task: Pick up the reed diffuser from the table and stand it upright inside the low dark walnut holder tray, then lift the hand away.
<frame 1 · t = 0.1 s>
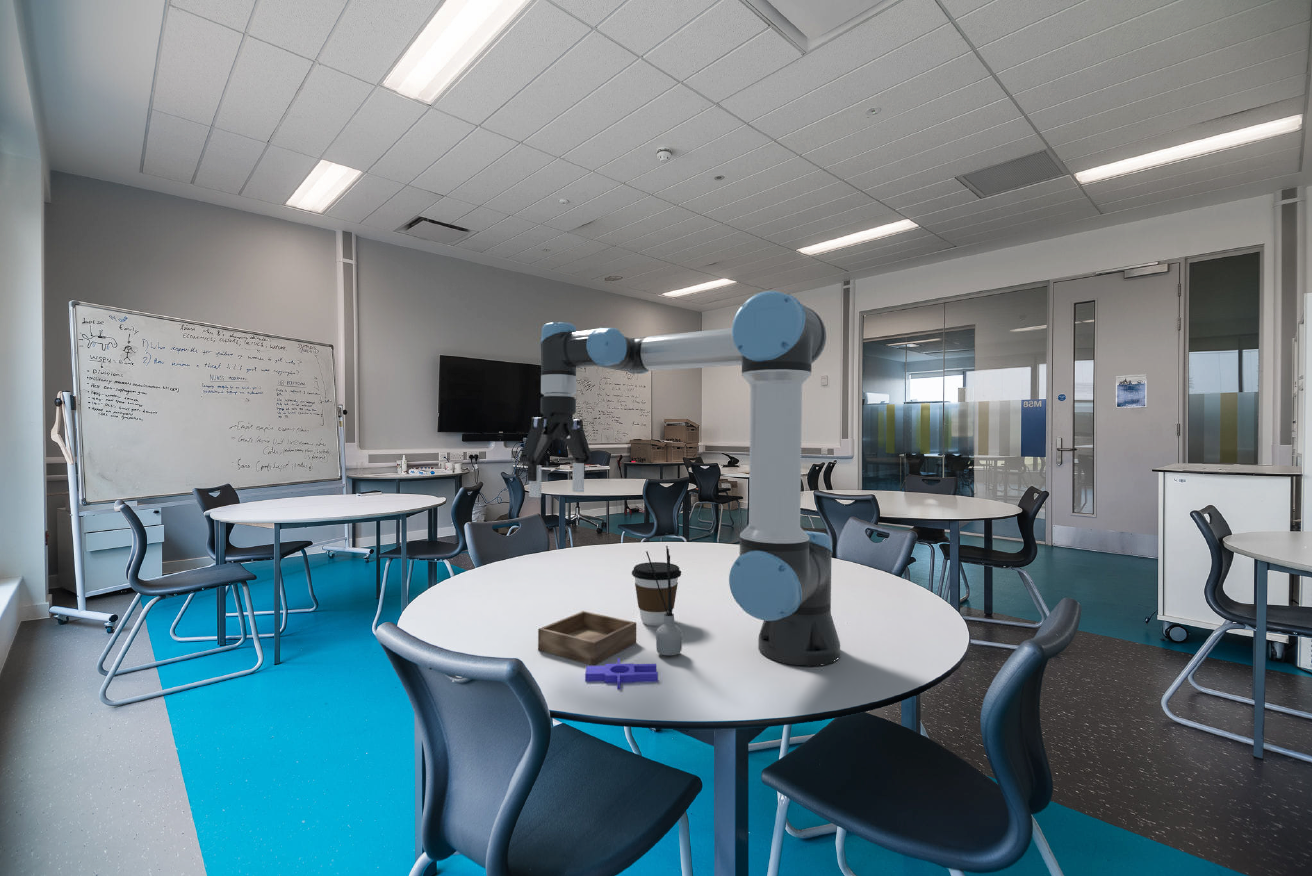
hand: (557, 494, 124), 28 cm above the table, tool pointing down, fingers open, 13 cm apart
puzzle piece: (621, 680, 97), on the table
reed diffuser: (663, 654, 108), on the table
walnut holder: (588, 646, 111), on the table
coffee cup: (656, 622, 126), on the table
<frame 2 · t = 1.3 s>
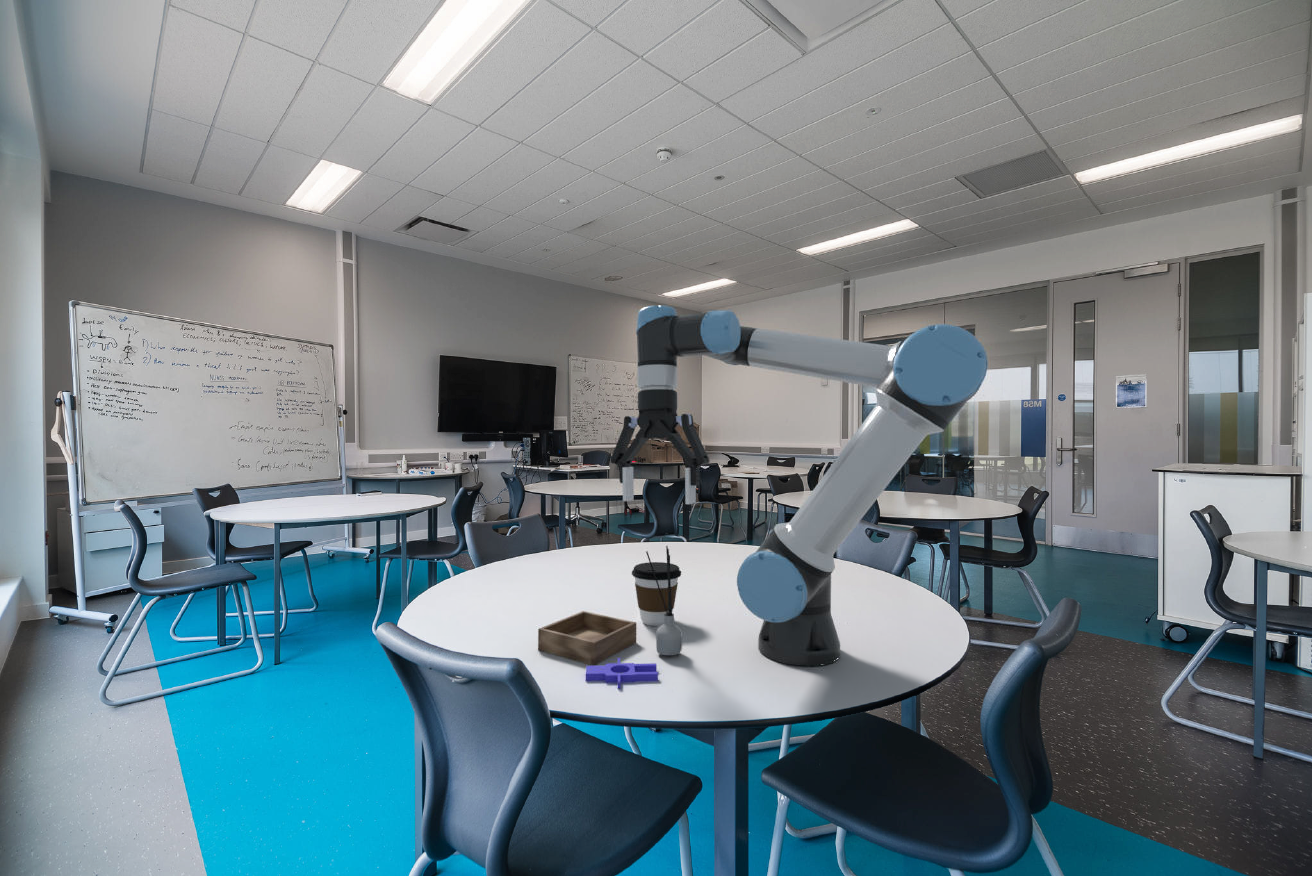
hand: (658, 502, 108), 28 cm above the table, tool pointing down, fingers open, 13 cm apart
nothing on the table moved.
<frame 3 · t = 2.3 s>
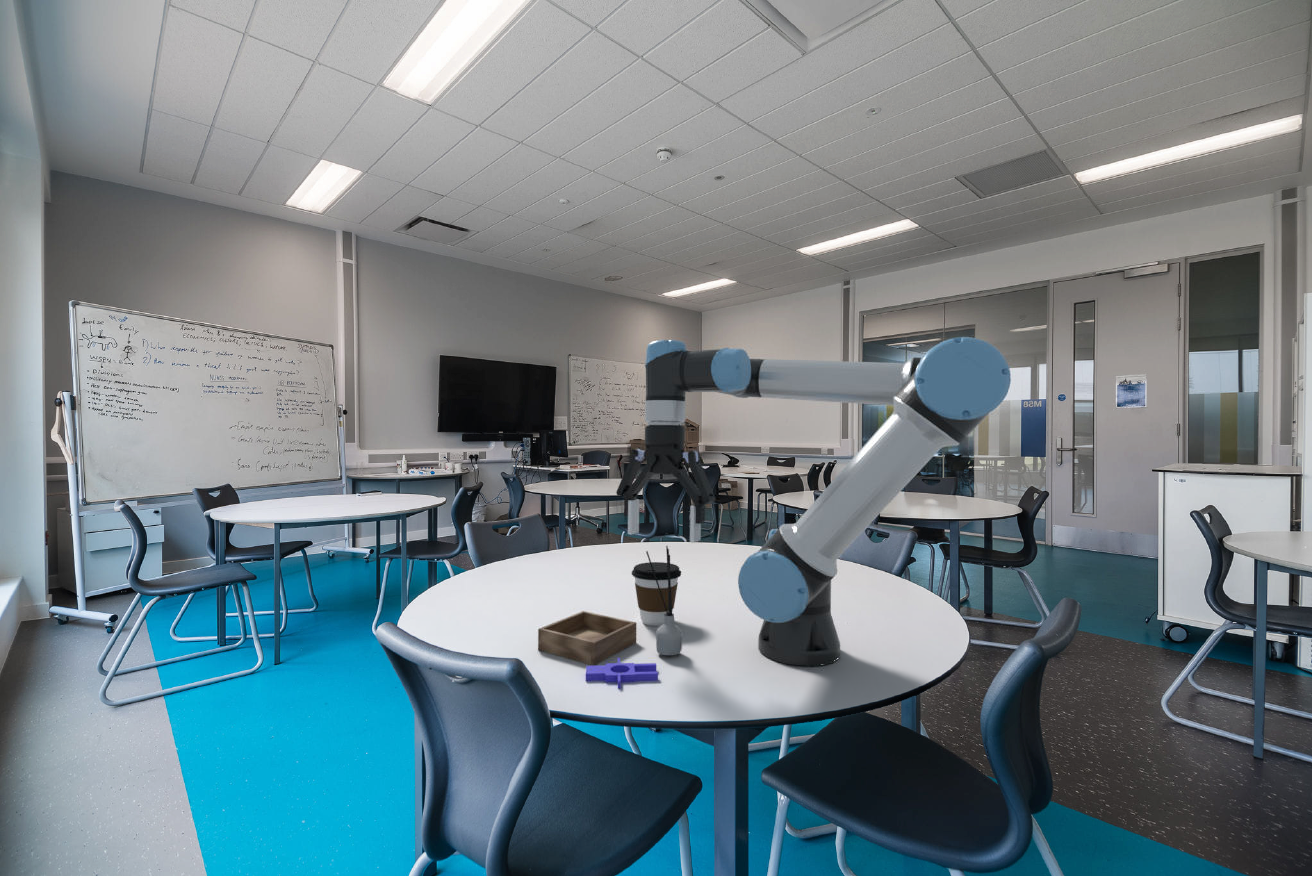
hand: (663, 537, 108), 22 cm above the table, tool pointing down, fingers open, 13 cm apart
nothing on the table moved.
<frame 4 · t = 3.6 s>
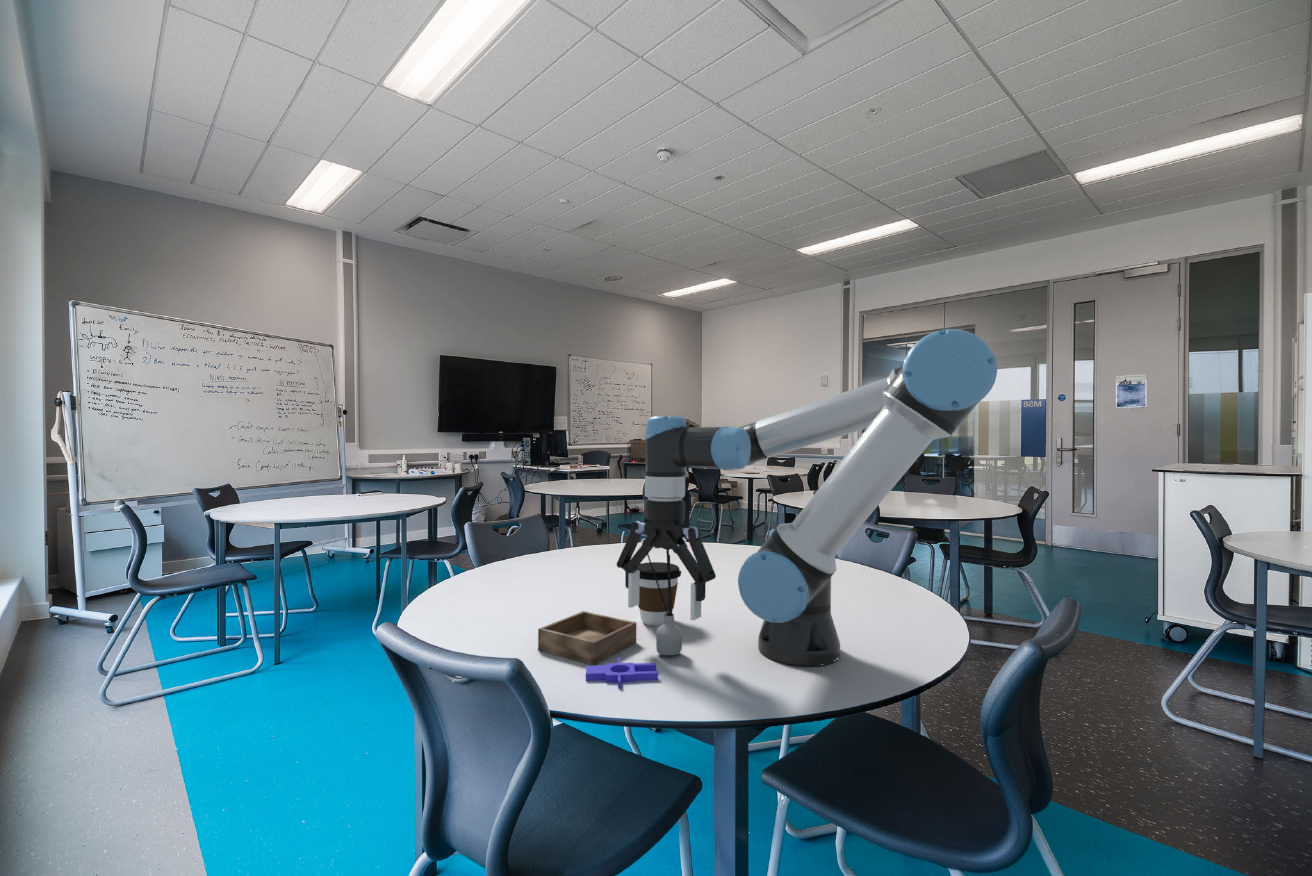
hand: (663, 611, 108), 8 cm above the table, tool pointing down, fingers open, 13 cm apart
nothing on the table moved.
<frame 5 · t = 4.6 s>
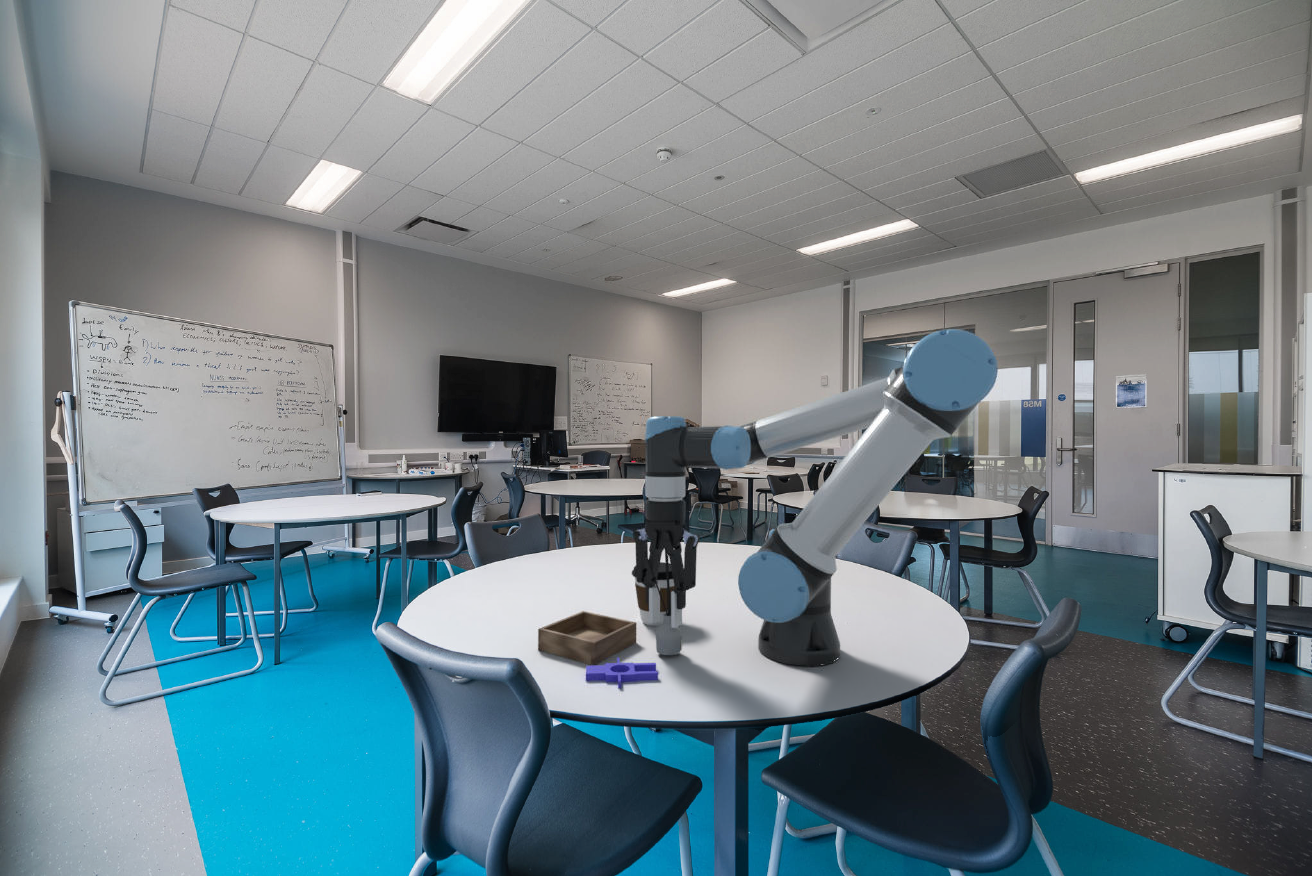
hand: (665, 623, 107), 6 cm above the table, tool pointing down, fingers open, 4 cm apart
reed diffuser: (663, 654, 108), on the table, touching gripper
everything else where it was.
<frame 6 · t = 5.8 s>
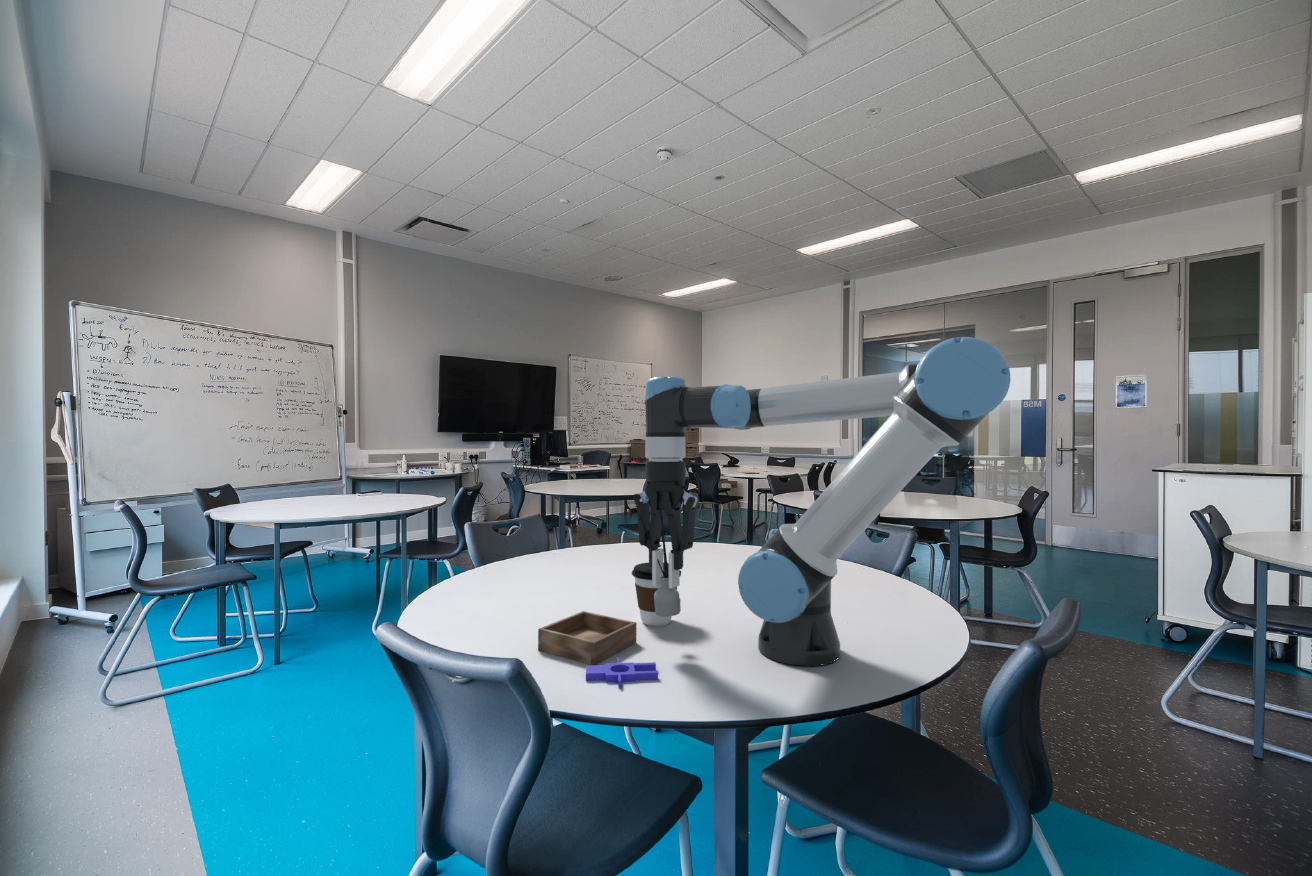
hand: (665, 585, 107), 13 cm above the table, tool pointing down, fingers closed on reed diffuser, 3 cm apart
reed diffuser: (662, 617, 108), point 7 cm above the table, touching gripper
everything else where it was.
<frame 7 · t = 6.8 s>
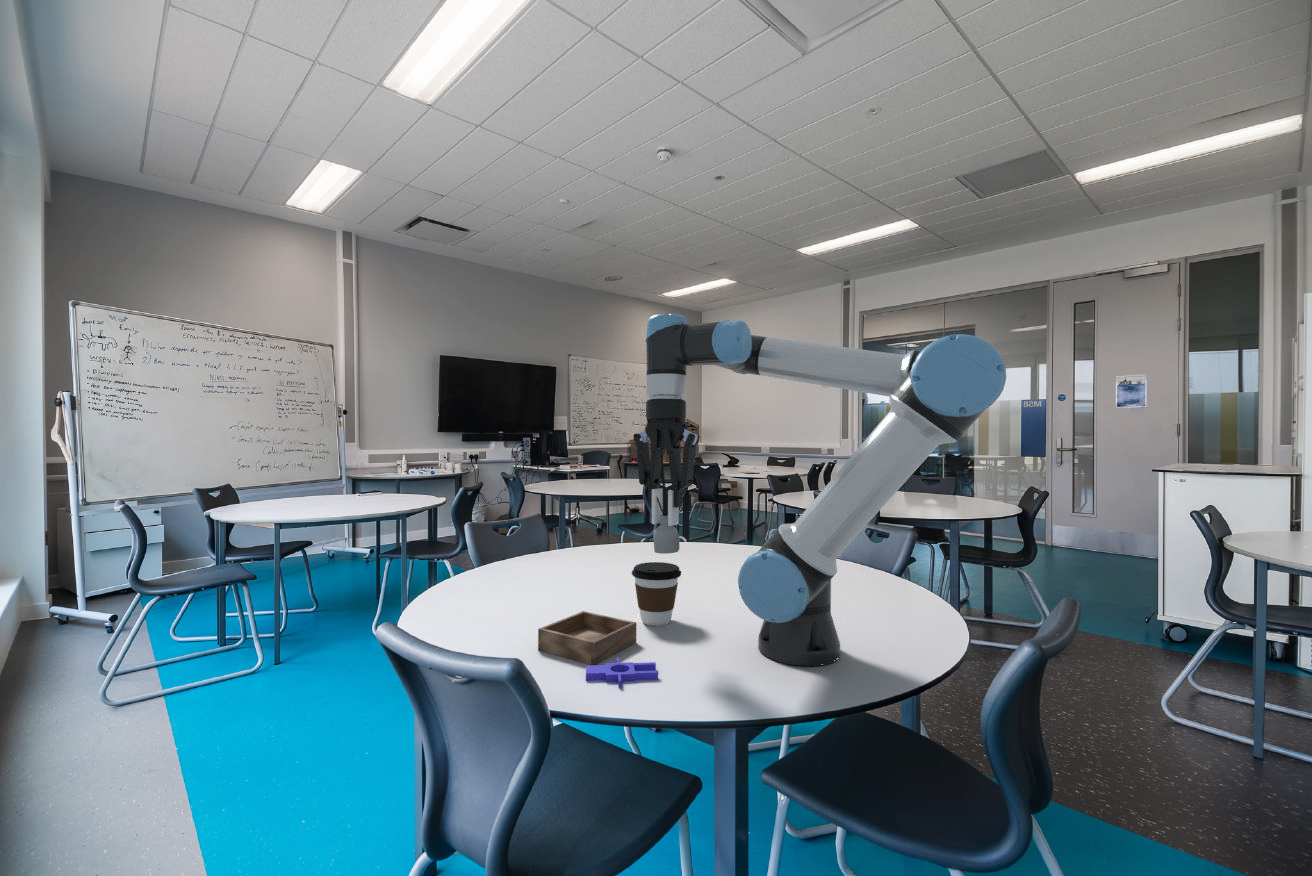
hand: (665, 523, 107), 24 cm above the table, tool pointing down, fingers closed on reed diffuser, 3 cm apart
reed diffuser: (661, 555, 108), point 18 cm above the table, touching gripper
everything else where it was.
when the fingers open (8 cm above the table, at t = 10.4 s): reed diffuser stays where it is, resting on walnut holder.
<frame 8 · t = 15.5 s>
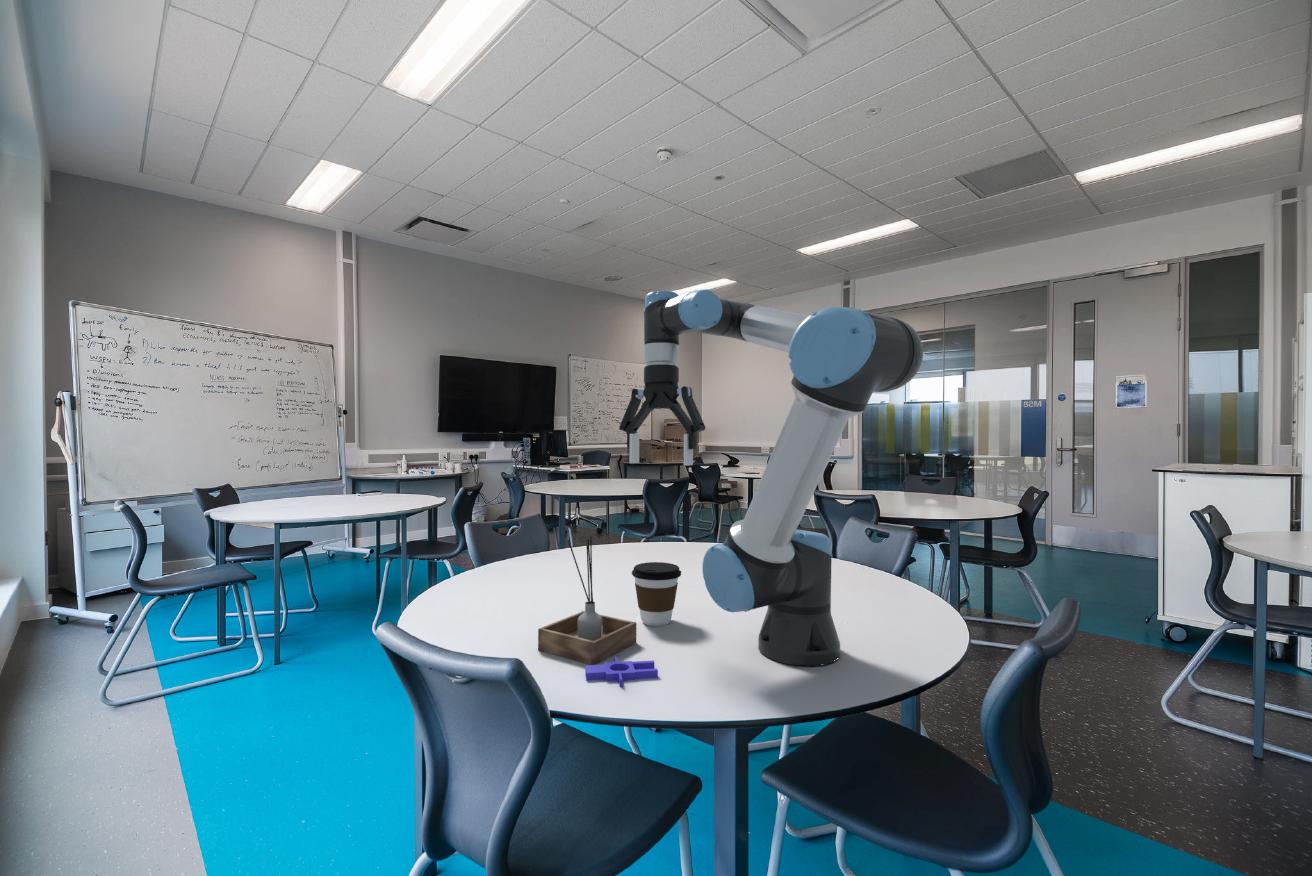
hand: (660, 464, 123), 35 cm above the table, tool pointing down, fingers open, 13 cm apart
reed diffuser: (585, 641, 111), point 1 cm above the table, touching walnut holder
everything else where it was.
at the end: reed diffuser inside the target area on the walnut holder (0.8 cm from its centre), point 0.8 cm above the walnut holder's base; reed diffuser tilted 0°; the gripper is holding nothing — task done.
